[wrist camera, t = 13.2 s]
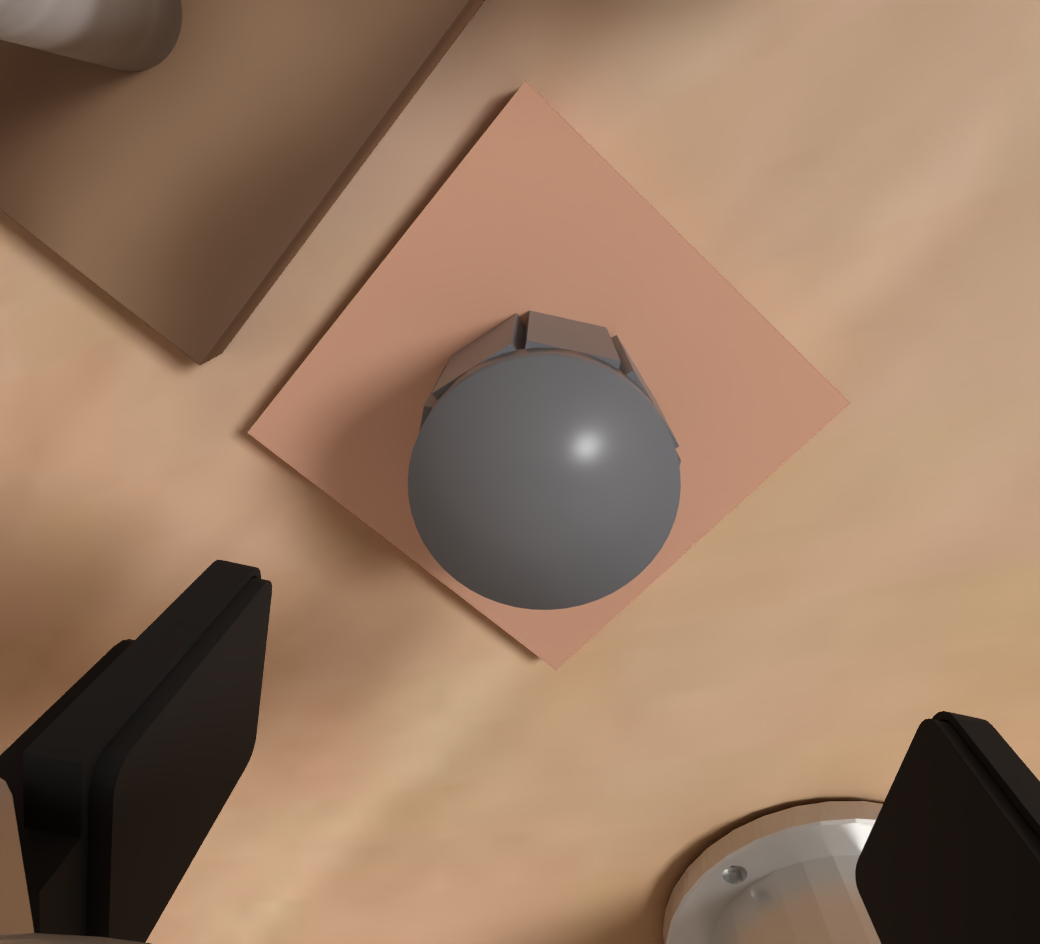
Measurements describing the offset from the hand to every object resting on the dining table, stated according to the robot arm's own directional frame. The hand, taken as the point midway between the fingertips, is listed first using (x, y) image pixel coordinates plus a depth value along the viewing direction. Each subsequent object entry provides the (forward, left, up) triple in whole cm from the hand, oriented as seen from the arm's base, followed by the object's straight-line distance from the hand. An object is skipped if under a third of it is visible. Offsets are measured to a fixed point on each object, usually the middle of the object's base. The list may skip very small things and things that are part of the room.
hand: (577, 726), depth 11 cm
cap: (+1, 0, -12) cm, 12 cm away
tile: (+1, 0, -13) cm, 13 cm away
